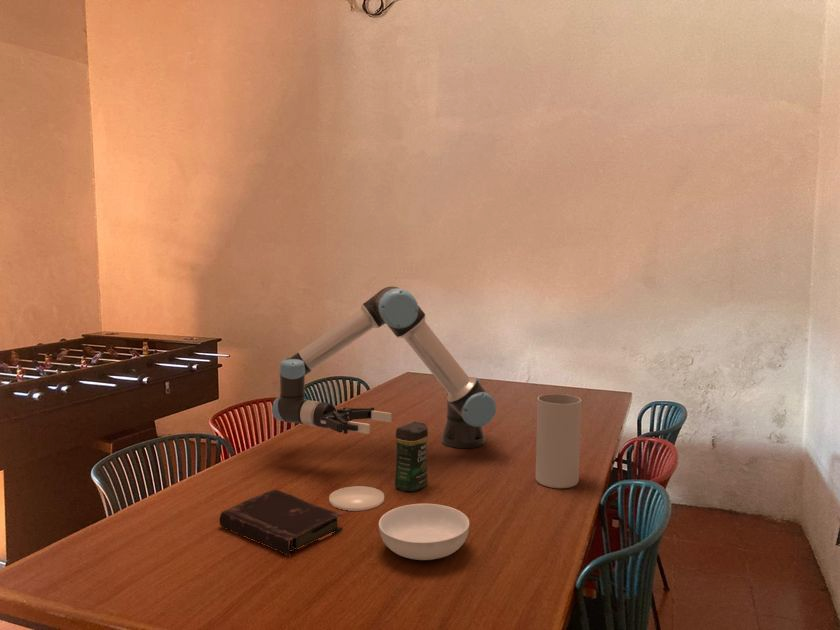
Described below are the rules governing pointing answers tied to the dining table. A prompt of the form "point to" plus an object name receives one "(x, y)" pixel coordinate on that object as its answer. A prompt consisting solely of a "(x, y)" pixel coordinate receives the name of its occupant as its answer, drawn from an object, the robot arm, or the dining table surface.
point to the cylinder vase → (558, 440)
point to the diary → (280, 520)
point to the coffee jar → (411, 456)
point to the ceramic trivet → (356, 498)
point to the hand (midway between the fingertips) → (380, 423)
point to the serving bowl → (424, 530)
